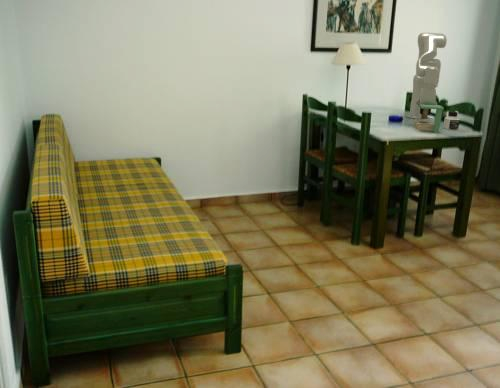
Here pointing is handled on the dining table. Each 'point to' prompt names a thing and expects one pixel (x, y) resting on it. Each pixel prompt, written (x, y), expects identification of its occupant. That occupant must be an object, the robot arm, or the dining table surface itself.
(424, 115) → the peg
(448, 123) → the medicine bottle
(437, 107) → the pale green arch
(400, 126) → the dining table surface
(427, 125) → the tan shallow oval bowl
